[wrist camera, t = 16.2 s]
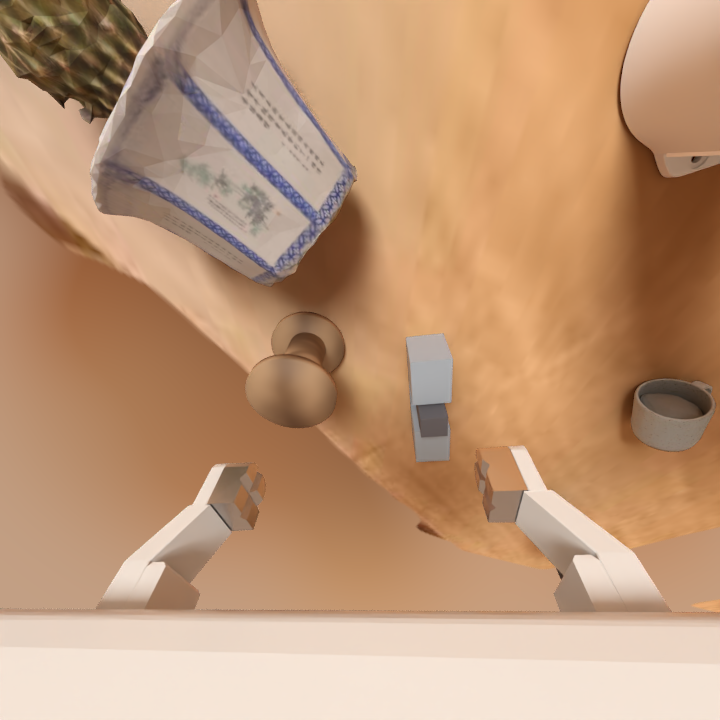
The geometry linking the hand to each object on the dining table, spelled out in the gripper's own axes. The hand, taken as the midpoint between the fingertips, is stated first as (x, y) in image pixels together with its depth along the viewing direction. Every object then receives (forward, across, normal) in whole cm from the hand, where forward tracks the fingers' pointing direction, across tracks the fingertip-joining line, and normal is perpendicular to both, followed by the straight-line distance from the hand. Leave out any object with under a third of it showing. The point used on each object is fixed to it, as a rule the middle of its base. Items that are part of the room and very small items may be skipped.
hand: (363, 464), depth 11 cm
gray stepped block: (+29, -5, +22) cm, 36 cm away
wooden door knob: (+29, +10, +11) cm, 33 cm away
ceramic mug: (+29, -40, +27) cm, 56 cm away
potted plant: (+29, +13, -16) cm, 35 cm away
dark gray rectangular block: (+28, -5, +22) cm, 36 cm away
